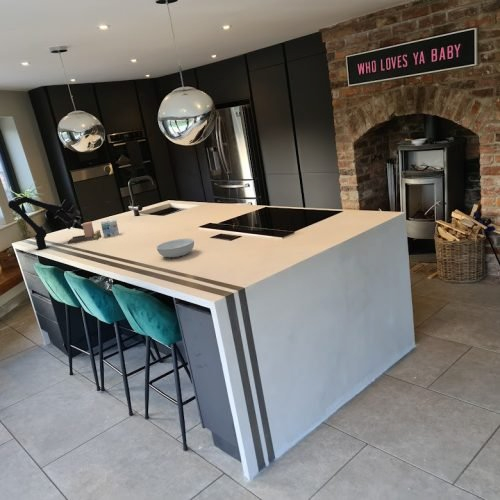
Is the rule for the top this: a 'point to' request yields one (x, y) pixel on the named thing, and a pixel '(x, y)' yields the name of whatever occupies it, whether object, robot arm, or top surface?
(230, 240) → the top surface
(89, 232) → the marker sleeve
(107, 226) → the light bulb box
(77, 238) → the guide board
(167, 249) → the serving bowl
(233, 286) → the top surface
